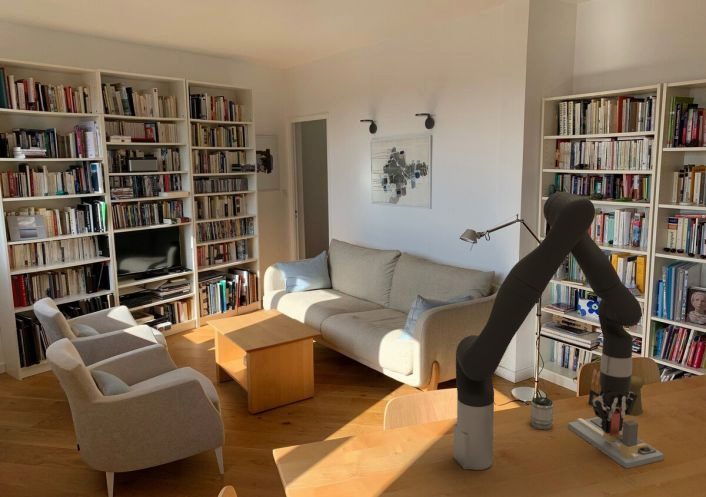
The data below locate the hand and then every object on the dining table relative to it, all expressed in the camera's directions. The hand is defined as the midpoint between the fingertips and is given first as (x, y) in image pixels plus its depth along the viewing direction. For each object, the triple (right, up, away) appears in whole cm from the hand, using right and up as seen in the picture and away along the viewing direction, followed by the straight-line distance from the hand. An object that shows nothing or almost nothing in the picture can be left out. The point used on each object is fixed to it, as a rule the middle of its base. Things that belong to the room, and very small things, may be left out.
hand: (612, 430), depth 145 cm
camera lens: (-14, -3, +14) cm, 20 cm away
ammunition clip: (+8, -1, +22) cm, 23 cm away
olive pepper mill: (+16, -1, +21) cm, 27 cm away
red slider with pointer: (+2, -3, +1) cm, 3 cm away
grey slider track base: (+2, -5, +4) cm, 6 cm away
